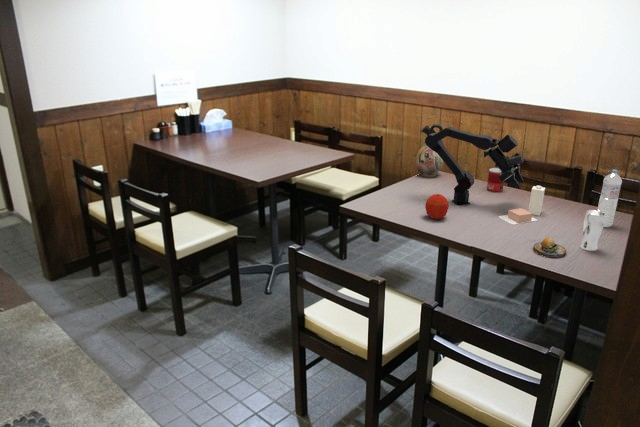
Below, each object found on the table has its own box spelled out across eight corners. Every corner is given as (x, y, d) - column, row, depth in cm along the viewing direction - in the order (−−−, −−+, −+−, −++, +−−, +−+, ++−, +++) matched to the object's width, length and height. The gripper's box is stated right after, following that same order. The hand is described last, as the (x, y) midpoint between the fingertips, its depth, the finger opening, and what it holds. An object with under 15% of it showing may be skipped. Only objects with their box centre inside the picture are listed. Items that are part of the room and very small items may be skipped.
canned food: (503, 192, 265) (506, 172, 261) (487, 191, 267) (490, 171, 263) (501, 188, 272) (504, 168, 268) (486, 187, 274) (488, 167, 270)
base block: (518, 222, 224) (519, 215, 223) (507, 217, 230) (508, 210, 229) (531, 220, 226) (532, 213, 225) (520, 215, 232) (521, 208, 231)
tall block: (527, 215, 235) (532, 186, 230) (529, 212, 239) (533, 183, 234) (539, 217, 233) (544, 188, 228) (540, 214, 237) (545, 185, 232)
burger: (571, 258, 195) (574, 240, 192) (541, 259, 194) (544, 241, 191) (555, 245, 206) (558, 228, 203) (527, 246, 205) (529, 229, 203)
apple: (420, 217, 233) (422, 193, 229) (432, 211, 240) (434, 188, 236) (440, 223, 226) (442, 199, 222) (451, 217, 233) (454, 193, 229)
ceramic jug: (411, 177, 290) (415, 124, 279) (417, 170, 304) (421, 119, 293) (442, 180, 285) (447, 127, 274) (446, 173, 298) (451, 121, 287)
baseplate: (512, 227, 223) (512, 224, 222) (497, 218, 232) (497, 216, 231) (537, 222, 227) (538, 220, 227) (522, 214, 236) (522, 212, 236)
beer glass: (575, 244, 206) (582, 209, 200) (591, 244, 206) (599, 209, 201) (585, 252, 199) (592, 216, 194) (602, 251, 200) (610, 215, 194)
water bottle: (610, 223, 227) (622, 168, 218) (613, 228, 221) (625, 173, 212) (593, 221, 229) (604, 167, 220) (595, 226, 223) (607, 171, 214)
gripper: (510, 152, 223) (533, 180, 222) (517, 144, 239) (539, 170, 237) (489, 167, 230) (511, 195, 229) (498, 158, 245) (519, 183, 244)
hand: (521, 185), depth 235 cm, fingers open, 9 cm apart
